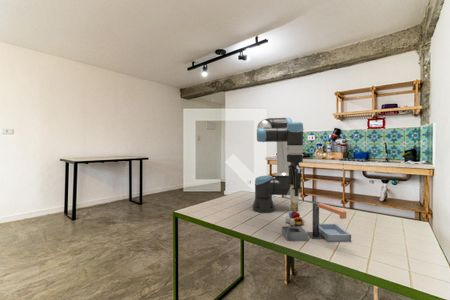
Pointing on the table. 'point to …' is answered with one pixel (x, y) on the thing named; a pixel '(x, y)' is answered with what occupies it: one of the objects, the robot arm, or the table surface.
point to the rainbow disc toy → (294, 219)
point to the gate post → (315, 225)
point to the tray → (334, 233)
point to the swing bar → (331, 209)
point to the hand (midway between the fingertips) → (294, 200)
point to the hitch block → (294, 233)
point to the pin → (293, 205)
